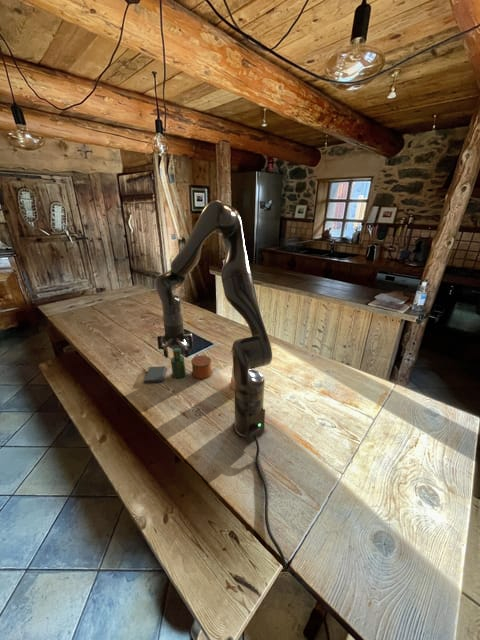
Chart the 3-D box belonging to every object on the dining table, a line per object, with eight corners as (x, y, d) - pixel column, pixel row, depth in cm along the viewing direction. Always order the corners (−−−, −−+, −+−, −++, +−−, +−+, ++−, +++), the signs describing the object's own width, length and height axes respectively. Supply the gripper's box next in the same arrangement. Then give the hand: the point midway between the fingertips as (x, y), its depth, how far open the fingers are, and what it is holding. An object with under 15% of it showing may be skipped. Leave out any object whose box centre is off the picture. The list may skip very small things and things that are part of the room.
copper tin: (215, 374, 115) (214, 362, 113) (197, 381, 111) (196, 368, 108) (206, 365, 122) (205, 353, 119) (189, 371, 118) (188, 359, 115)
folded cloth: (161, 382, 111) (161, 379, 110) (144, 382, 110) (144, 380, 110) (165, 368, 120) (165, 366, 119) (150, 369, 119) (149, 366, 119)
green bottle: (187, 375, 115) (185, 350, 110) (175, 379, 112) (172, 354, 107) (182, 369, 119) (180, 344, 114) (170, 373, 116) (167, 348, 111)
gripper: (152, 326, 102) (158, 362, 108) (190, 325, 103) (193, 361, 109) (157, 318, 108) (161, 352, 115) (192, 317, 109) (194, 351, 116)
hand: (177, 356), depth 112 cm, fingers open, 8 cm apart
